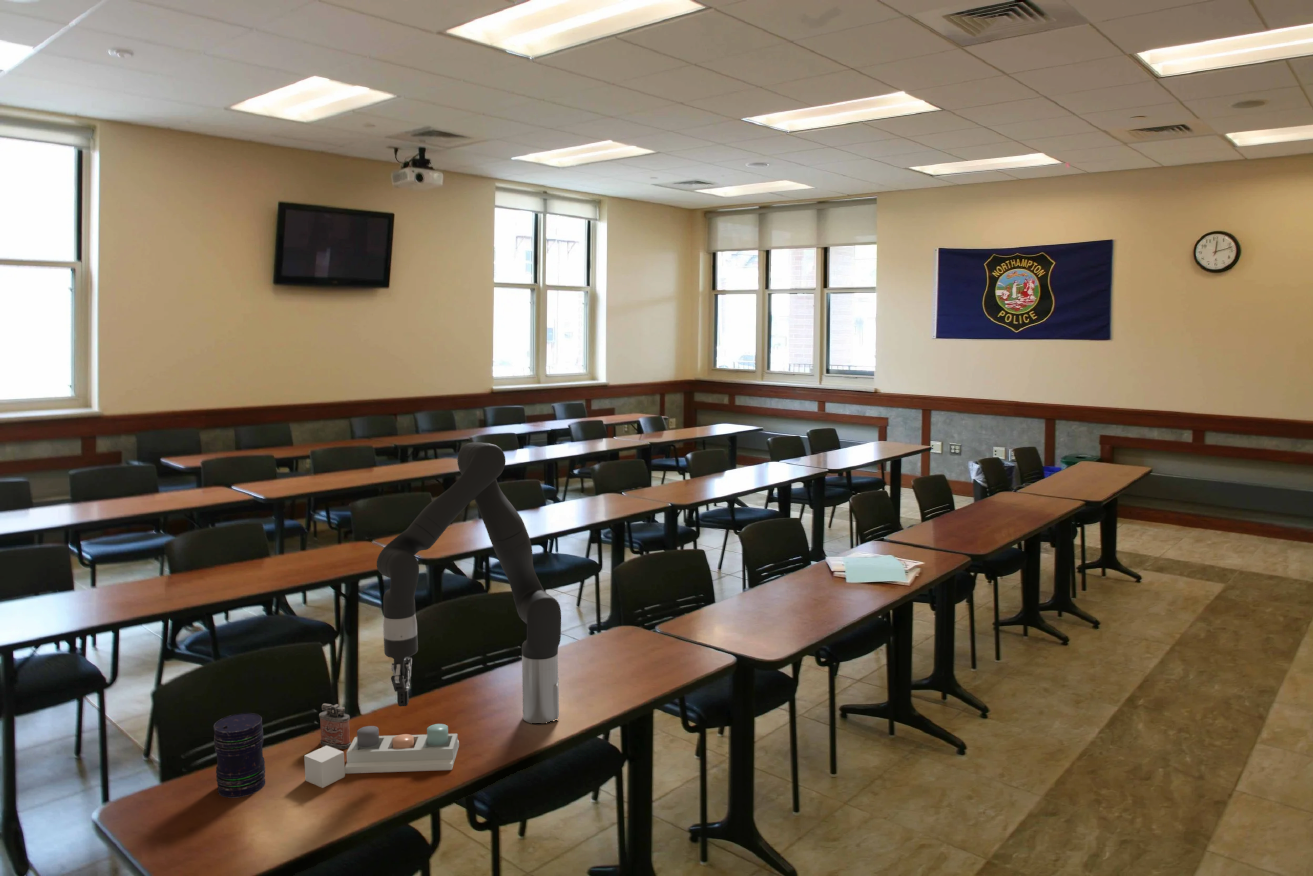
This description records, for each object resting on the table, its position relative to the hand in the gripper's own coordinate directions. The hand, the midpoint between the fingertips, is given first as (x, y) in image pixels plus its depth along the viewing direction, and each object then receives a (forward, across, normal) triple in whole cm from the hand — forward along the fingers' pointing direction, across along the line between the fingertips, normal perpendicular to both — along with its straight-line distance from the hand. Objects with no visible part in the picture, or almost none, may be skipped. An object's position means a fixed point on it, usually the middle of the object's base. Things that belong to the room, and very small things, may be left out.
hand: (403, 704), depth 216 cm
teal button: (+9, 0, -8) cm, 12 cm away
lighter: (+13, +9, +18) cm, 24 cm away
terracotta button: (+11, 0, 0) cm, 11 cm away
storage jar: (+13, -11, +34) cm, 38 cm away
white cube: (+13, -8, +16) cm, 23 cm away
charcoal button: (+9, 0, +8) cm, 12 cm away
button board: (+13, 0, 0) cm, 13 cm away
